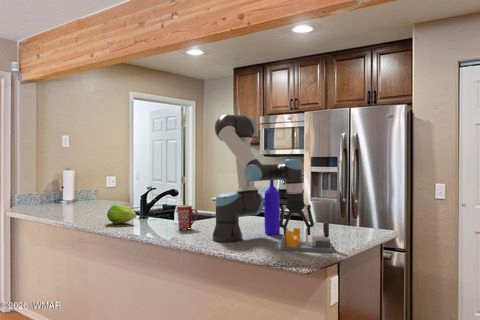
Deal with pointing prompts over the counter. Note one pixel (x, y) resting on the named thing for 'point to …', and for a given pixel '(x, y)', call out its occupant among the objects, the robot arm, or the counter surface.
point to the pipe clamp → (293, 237)
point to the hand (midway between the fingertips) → (297, 242)
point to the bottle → (272, 210)
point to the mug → (185, 216)
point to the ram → (322, 237)
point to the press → (308, 246)
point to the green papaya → (120, 214)
